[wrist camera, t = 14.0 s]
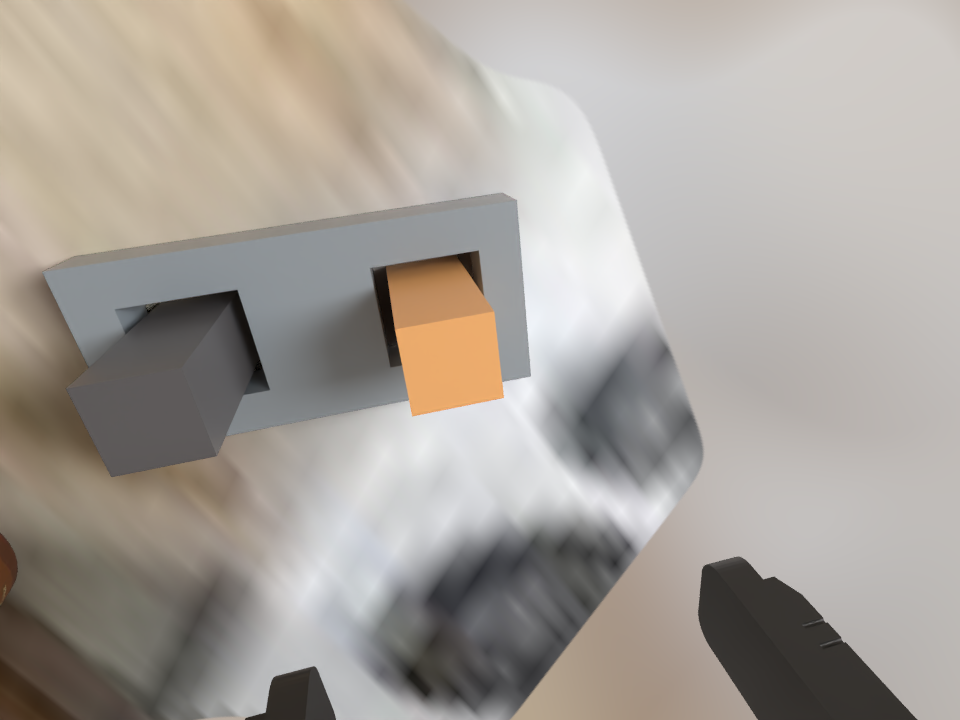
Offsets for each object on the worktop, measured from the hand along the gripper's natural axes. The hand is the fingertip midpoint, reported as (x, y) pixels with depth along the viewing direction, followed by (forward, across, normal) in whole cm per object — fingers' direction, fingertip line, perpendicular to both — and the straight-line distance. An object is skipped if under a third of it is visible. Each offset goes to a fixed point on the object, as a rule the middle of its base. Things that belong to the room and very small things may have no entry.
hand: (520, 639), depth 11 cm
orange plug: (+22, -1, 0) cm, 23 cm away
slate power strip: (+22, +5, 0) cm, 23 cm away
